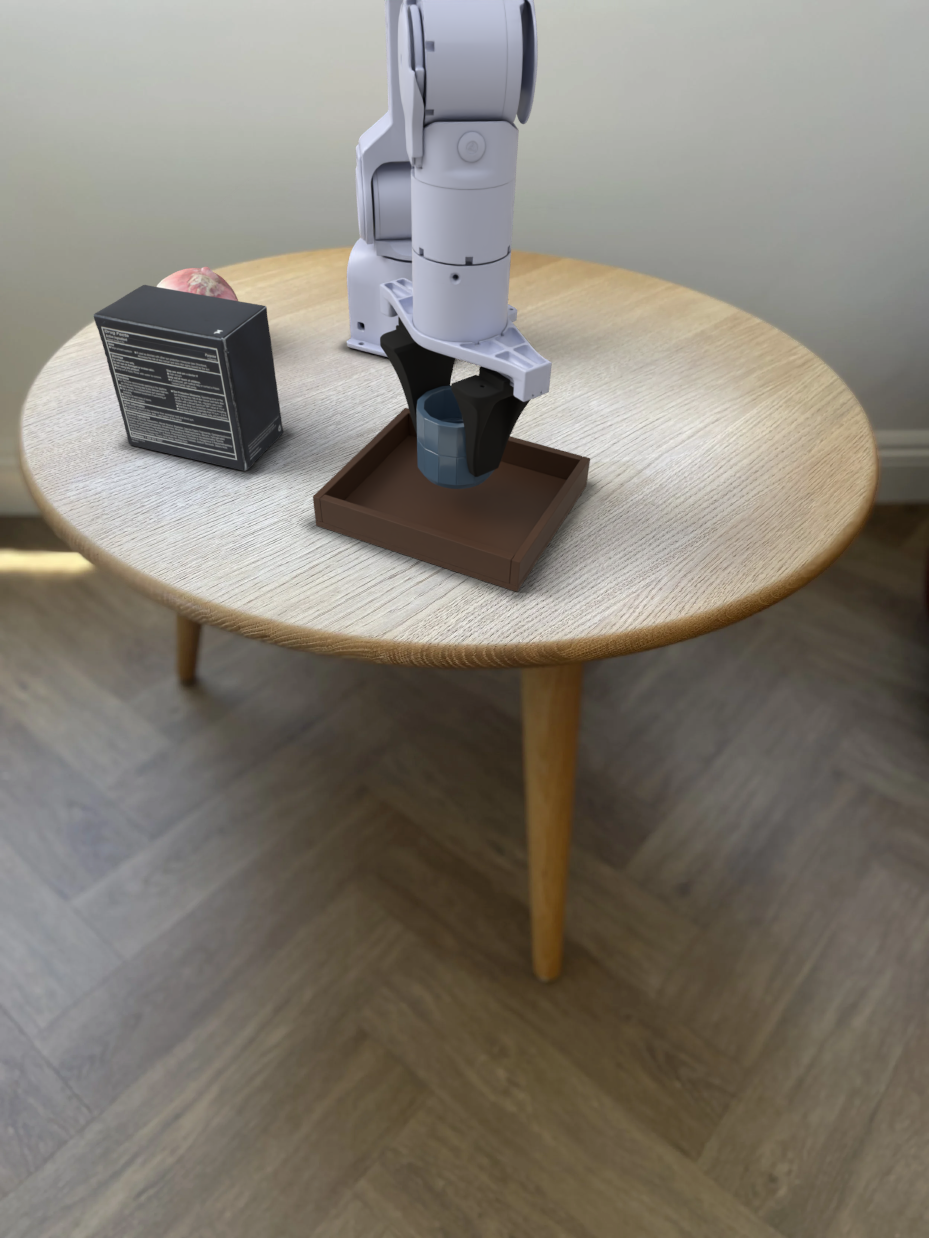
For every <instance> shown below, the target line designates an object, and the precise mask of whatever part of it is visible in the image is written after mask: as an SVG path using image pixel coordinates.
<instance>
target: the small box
mask: <svg viewBox="0 0 929 1238" xmlns="http://www.w3.org/2000/svg"><path fill="white" fill-rule="evenodd" d="M93 319H94V323H95V326H96V328H97V330H98V334H99V338H100V341H101V344H102V347H103V351H104V355H105V357H106V362H107V365H108V370H109V372H110V377H111V380H112V384H113V388H114V391H115V396H116V399H117V402H118V406H119V411H120V415H121V417H122V421H123V425H124V429H125V434H126V436H127V437H126V438H127V443H128V445H130V446H134V447H138V448H142V449H147V450H149V451H150V450H151V451H155V452H160V453H164V454H169V455H172V456H178V457H181V458H185V459H190V460H195V461H199V462H204V463H208V464H213V465H217V466H221V467H225V468H230V469H234V470H239V471H244V472H245V471H247V470H249V469H250V468H251V467H252V466H253V465H254V463H256V462H257V460H258V459H259V458H260V457H261V456H262V455H263V454H264V453H265V452H267V450H268V449H269V448H270V447H271V446H272V445H273V444H274V443H276V441H277V440H278V439H279V438H281V435H282V434H283V433H284V427H283V420H282V413H281V406H280V399H279V392H278V391H279V390H278V384H277V376H276V370H275V362H274V355H273V346H272V338H271V333H270V325H269V318H268V307H267V306H266V305H262V304H257V303H251V302H246V301H245V302H244V301H241V300H238V301H234V300H229V299H223V298H217V297H211V296H205V295H200V294H194V293H189V292H183V291H177V290H171V289H166V288H160V287H157V286H154V285H148V284H142V285H140V286H139V287H137V288H136V289H135V288H134V289H133V290H132V291H130V292H129V293H127V294H125V295H124V296H122V297H120V298H119V299H117V300H116V301H114V302H112V303H111V304H109V305H107V306H105V307H104V308H101V309H100V310H99V311H97V312H95V313H94V314H93Z"/></svg>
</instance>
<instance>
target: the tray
mask: <svg viewBox="0 0 929 1238" xmlns="http://www.w3.org/2000/svg"><path fill="white" fill-rule="evenodd" d="M590 463H591V458H590V457H588V456H584V455H580V454H577V453H572V452H569V451H566V450H561V449H558V448H555V447H551V446H548V445H544V444H541V443H536V442H533V441H529V440H526V439H521V438H518V437H514V436H511V435H510V437H509V439H508V442H507V445H506V447H505V450H504V453H503V456H502V459H501V461H500V464H499V467H498V468H497V469H495V471H494V472H493V473H492V474H491V475H490V477H488V478H487V480H485V481H484V482H483V483H481V484H479V485H477V486H474V487H471V488H466V489H450V488H444V487H441V486H438V485H436V484H434V483H432V482H431V481H429V480H428V479H427V478H426V477H425V476H424V475H423V474H422V472H421V471H420V470H419V468H418V466H417V434H416V431H415V428H414V425H413V422H412V418H411V415H410V411H409V408H408V407H404V408H403V409H402V410H401V411H400V412H399V413H398V414H397V415H396V416H395V417H394V418H393V419H392V420H391V421H389V423H388V424H386V425H385V426H384V428H382V429H381V430H380V431H379V432H378V433H377V434H375V436H374V437H373V438H372V439H371V440H370V441H368V443H367V444H365V446H363V447H362V448H361V449H360V451H358V452H357V453H356V454H355V455H354V456H353V457H352V458H350V460H349V461H348V462H347V463H346V464H345V465H344V466H342V468H340V469H339V470H338V472H337V473H335V474H334V476H332V477H331V478H329V480H328V481H327V482H326V483H325V484H324V485H323V486H322V487H321V488H320V489H319V490H318V491H316V493H314V495H312V501H313V509H314V518H315V526H316V527H319V528H323V529H324V530H325V529H326V530H329V531H331V532H334V533H338V534H340V535H344V536H347V537H349V538H352V539H355V540H359V541H362V542H364V543H368V544H371V545H374V546H377V547H380V548H383V549H386V550H389V551H392V552H395V553H398V554H401V555H404V556H407V557H410V558H412V559H413V558H414V559H416V560H419V561H422V562H425V563H428V564H430V565H431V564H432V565H434V566H437V567H441V568H444V569H447V570H449V571H453V572H456V573H459V574H462V575H465V576H468V577H471V578H474V579H477V580H480V581H482V582H486V583H489V584H492V585H495V586H498V587H501V588H505V589H507V590H509V591H513V592H516V593H517V592H519V590H520V589H521V588H522V586H523V584H524V582H526V580H527V578H528V576H529V575H530V573H531V572H532V570H533V569H534V567H535V565H537V563H538V562H539V560H540V558H541V557H542V555H543V553H545V551H546V549H547V547H548V546H549V544H550V543H551V541H552V540H553V538H554V537H555V535H556V533H557V532H558V530H559V529H560V528H561V526H562V524H563V523H564V521H565V520H566V518H567V517H568V515H569V514H570V512H571V510H572V509H573V508H574V506H575V505H576V503H577V501H578V500H579V498H580V497H581V495H582V493H583V492H584V490H585V489H586V487H587V485H588V476H589V470H590Z"/></svg>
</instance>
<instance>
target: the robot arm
mask: <svg viewBox="0 0 929 1238" xmlns="http://www.w3.org/2000/svg"><path fill="white" fill-rule="evenodd" d="M384 24H385V25H384V26H385V52H386V53H385V54H386V55H385V56H386V79H387V80H386V82H387V83H386V85H387V111H386V112H385V113H384V114H383V115H382V116H381V117H379V119H378V120H376V122H374V123H373V124H372V125H371V126H370V127H368V129H366V130H365V131H364V132H363V133H362V134H361V135H360V137H359V138H358V140H357V141H358V142H357V144H356V146H355V160H356V161H355V162H356V167H355V172H354V173H355V175H354V176H355V195H356V210H357V212H356V213H357V222H358V233H359V238H358V239H357V240H356V242H355V243H354V245H353V247H352V249H351V250H350V254H349V257H348V261H347V268H346V288H347V304H348V305H347V306H348V316H349V317H348V319H349V333H350V334H349V335H350V338H349V339H347V340H346V347H348V348H351V349H353V350H358V351H361V352H366V353H370V354H374V355H378V356H381V357H385V358H387V359H388V360H389V362H390V363H391V366H392V367H393V369H394V372H395V374H396V376H397V378H398V381H399V383H400V385H401V388H402V390H403V394H404V397H405V400H406V404H407V408H408V409H409V411H410V415H411V418H412V422H413V425H414V428H415V431H416V434H417V400H418V399H419V398H420V397H421V396H422V395H423V394H424V393H425V392H427V391H429V390H432V389H435V388H438V387H441V386H450V385H451V390H452V392H453V394H454V396H455V398H456V400H457V402H458V405H459V408H460V411H461V414H462V418H463V423H464V428H465V437H466V459H467V465H468V469H469V473H471V474H472V475H473V476H475V477H479V476H481V475H483V474H486V473H488V472H490V471H493V470H495V469H497V468H498V467H499V464H500V461H501V459H502V456H503V453H504V450H505V447H506V445H507V442H508V439H509V437H510V436H511V435H512V432H513V430H514V429H515V426H516V424H517V422H518V420H519V418H520V417H521V415H522V414H523V412H524V410H525V409H526V407H527V405H528V404H529V403H530V401H531V400H534V399H537V398H538V397H542V396H543V395H546V394H549V393H550V384H551V377H552V376H551V375H552V364H553V362H552V361H550V360H549V359H548V358H545V357H544V356H543V355H542V354H540V353H539V352H538V351H537V350H536V349H535V348H534V347H533V345H532V344H531V343H530V342H529V341H528V339H527V338H526V337H525V336H524V335H523V334H522V332H521V331H520V330H519V329H518V327H517V326H516V325H515V322H516V321H517V319H518V309H517V308H516V307H514V306H513V305H511V304H509V296H510V295H509V293H510V278H511V262H512V261H511V259H512V246H513V227H514V212H515V197H516V196H515V195H516V181H517V179H516V178H517V165H518V164H517V163H518V149H519V148H518V147H519V132H520V131H519V128H518V127H517V126H516V124H515V123H514V122H515V120H516V117H517V120H518V122H519V123H520V124H522V125H526V123H527V122H528V121H529V119H530V116H531V113H532V109H533V104H534V99H535V92H536V85H537V84H536V83H537V75H538V61H539V43H538V27H537V26H538V25H537V15H536V7H535V1H534V0H384ZM456 360H459V361H461V362H462V361H463V362H465V363H469V364H473V365H475V366H477V367H479V368H478V369H479V370H478V374H474V375H471V376H468V377H466V378H463V379H460V380H458V381H455V382H452V376H453V370H454V367H455V361H456ZM451 382H452V383H451Z"/></svg>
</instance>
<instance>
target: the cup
mask: <svg viewBox="0 0 929 1238" xmlns="http://www.w3.org/2000/svg"><path fill="white" fill-rule="evenodd" d="M417 466H418V468H419V470H420V471H421V472H422V474H423V475H424V476H425V477H426V478H427V479H428V480H429V481H431V482H432V483H434V484H436V485H438V486H441V487H444V488H450V489H466V488H471V487H474V486H477V485H479V484H481V483H483V482H484V481H485V480H487V478H488V477H490V475H491V474H492V473H493V472H494V471H495V470H493V471H490V472H488V473H486V474H483V475H481V476H479V477H475V476H473V475H472V474H471V473H469V469H468V465H467V459H466V437H465V428H464V423H463V418H462V414H461V411H460V408H459V405H458V402H457V400H456V398H455V396H454V394H453V392H452V390H451V384H450V386H441V387H438V388H435V389H432V390H429V391H427V392H425V393H424V394H423V395H422V396H421V397H420V398H419V399H418V400H417Z"/></svg>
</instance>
